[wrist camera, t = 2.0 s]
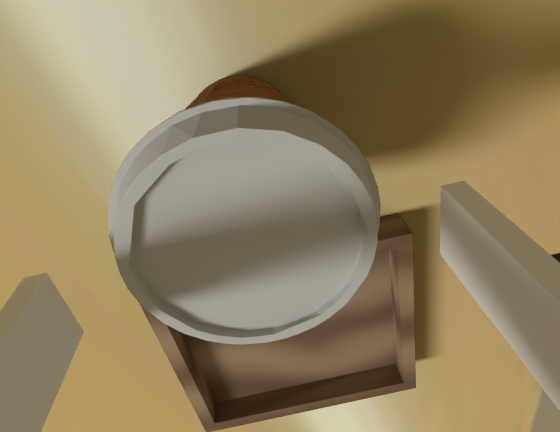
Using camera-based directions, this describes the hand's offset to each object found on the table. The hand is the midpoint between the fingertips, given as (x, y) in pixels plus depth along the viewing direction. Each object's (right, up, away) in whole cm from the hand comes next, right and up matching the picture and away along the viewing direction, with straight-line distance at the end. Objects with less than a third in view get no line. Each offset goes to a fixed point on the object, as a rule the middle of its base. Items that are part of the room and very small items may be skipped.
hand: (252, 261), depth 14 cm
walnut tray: (+2, -7, +18) cm, 20 cm away
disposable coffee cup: (-1, +7, +10) cm, 12 cm away
